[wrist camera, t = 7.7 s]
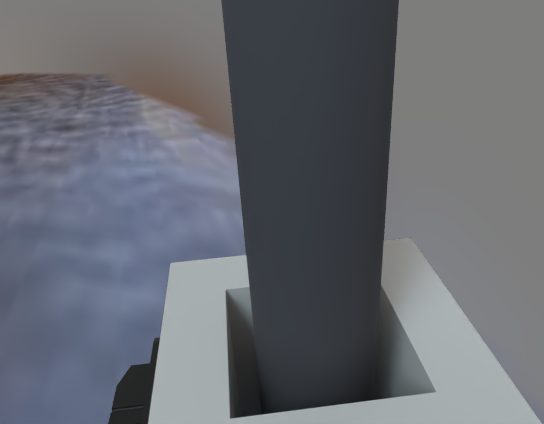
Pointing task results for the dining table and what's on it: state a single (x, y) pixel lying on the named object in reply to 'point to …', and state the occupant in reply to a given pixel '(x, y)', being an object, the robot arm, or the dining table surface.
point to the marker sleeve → (389, 361)
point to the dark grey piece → (313, 188)
